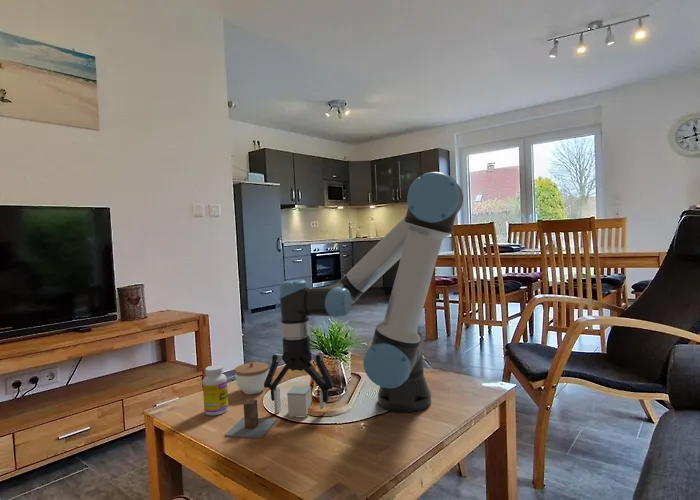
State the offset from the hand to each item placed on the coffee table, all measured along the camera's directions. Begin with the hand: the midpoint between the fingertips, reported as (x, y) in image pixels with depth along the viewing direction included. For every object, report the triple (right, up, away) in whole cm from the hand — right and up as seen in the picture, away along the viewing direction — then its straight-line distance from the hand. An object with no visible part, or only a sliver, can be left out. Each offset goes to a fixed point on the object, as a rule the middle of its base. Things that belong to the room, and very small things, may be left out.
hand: (300, 412), depth 120 cm
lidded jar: (-17, 0, +19) cm, 26 cm away
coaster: (-12, -1, -8) cm, 14 cm away
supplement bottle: (-25, -1, +4) cm, 25 cm away
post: (-12, -1, -8) cm, 14 cm away
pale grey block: (0, 0, 0) cm, 0 cm away
